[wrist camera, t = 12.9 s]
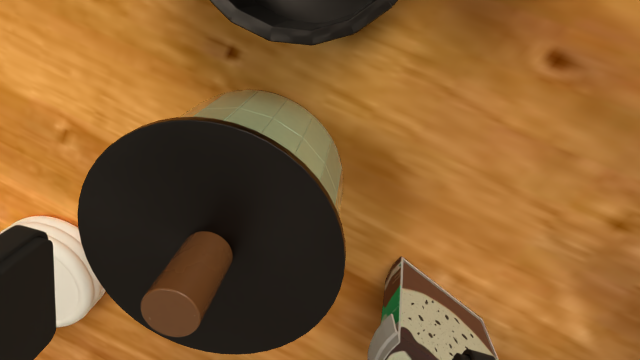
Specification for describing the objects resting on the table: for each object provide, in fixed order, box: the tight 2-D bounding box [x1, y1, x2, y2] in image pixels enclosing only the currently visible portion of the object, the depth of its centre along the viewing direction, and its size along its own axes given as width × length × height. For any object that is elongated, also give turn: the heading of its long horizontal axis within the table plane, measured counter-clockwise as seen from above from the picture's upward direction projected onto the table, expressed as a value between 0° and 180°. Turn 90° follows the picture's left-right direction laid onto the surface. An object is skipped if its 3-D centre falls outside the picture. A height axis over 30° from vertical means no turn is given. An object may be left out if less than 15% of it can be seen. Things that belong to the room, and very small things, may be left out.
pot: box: [180, 90, 343, 215], centre depth 29 cm, size 14×14×10 cm
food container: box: [368, 256, 499, 360], centre depth 32 cm, size 12×6×10 cm, turn 51°
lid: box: [78, 117, 346, 354], centre depth 22 cm, size 15×15×6 cm
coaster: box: [0, 216, 105, 327], centre depth 38 cm, size 10×10×4 cm
